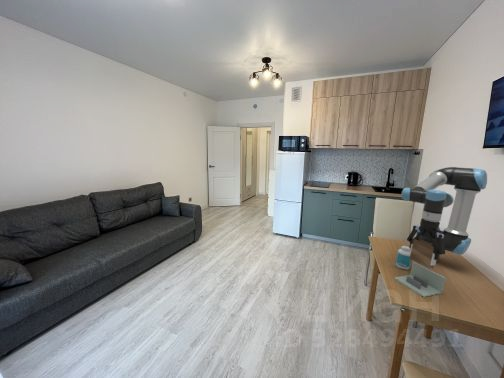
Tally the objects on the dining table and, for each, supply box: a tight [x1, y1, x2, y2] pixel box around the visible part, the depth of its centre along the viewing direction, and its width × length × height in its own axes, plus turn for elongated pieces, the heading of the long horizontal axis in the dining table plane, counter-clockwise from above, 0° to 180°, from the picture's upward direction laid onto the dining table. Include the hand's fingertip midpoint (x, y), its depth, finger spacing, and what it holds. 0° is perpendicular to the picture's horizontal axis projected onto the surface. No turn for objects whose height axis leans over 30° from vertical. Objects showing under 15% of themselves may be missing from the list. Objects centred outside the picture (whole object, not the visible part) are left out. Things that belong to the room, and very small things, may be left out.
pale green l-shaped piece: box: [393, 261, 446, 298], centre depth 115 cm, size 14×16×9 cm
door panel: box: [410, 239, 435, 270], centre depth 112 cm, size 3×10×12 cm, turn 18°
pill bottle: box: [395, 245, 412, 270], centre depth 134 cm, size 8×7×14 cm
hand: (421, 259), depth 113 cm, fingers closed on door panel, 10 cm apart
